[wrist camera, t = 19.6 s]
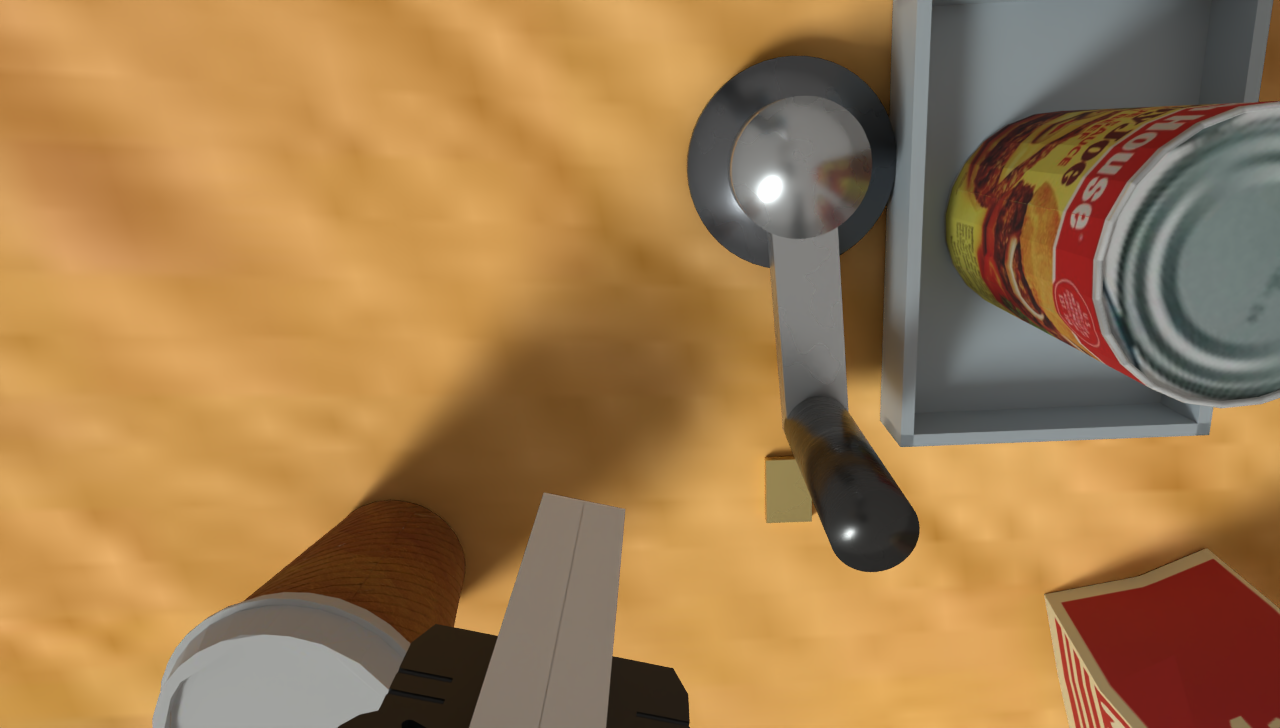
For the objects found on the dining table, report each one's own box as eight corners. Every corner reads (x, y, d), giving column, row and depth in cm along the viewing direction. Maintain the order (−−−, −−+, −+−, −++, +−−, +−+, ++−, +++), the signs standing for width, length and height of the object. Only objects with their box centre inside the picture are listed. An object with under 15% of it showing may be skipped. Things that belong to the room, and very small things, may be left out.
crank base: (683, 64, 32) (684, 61, 31) (891, 52, 31) (900, 49, 30) (690, 269, 34) (691, 274, 33) (885, 260, 34) (893, 264, 32)
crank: (721, 106, 31) (751, 95, 21) (855, 89, 30) (952, 69, 20) (752, 448, 34) (791, 580, 24) (872, 435, 34) (962, 563, 24)
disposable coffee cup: (488, 461, 36) (409, 614, 25) (510, 646, 39) (447, 862, 28) (278, 471, 37) (105, 627, 25) (314, 653, 39) (172, 870, 28)
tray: (893, -4, 31) (918, -19, 28) (1218, -23, 30) (1279, -40, 27) (879, 420, 36) (900, 446, 33) (1162, 409, 35) (1209, 434, 32)
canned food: (1130, 83, 31) (1409, 57, 19) (1158, 280, 33) (1425, 362, 21) (924, 146, 32) (1073, 157, 20) (963, 335, 34) (1120, 442, 22)
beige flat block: (764, 457, 36) (765, 460, 36) (810, 455, 36) (812, 459, 36) (765, 518, 37) (766, 522, 37) (810, 517, 37) (811, 521, 36)
